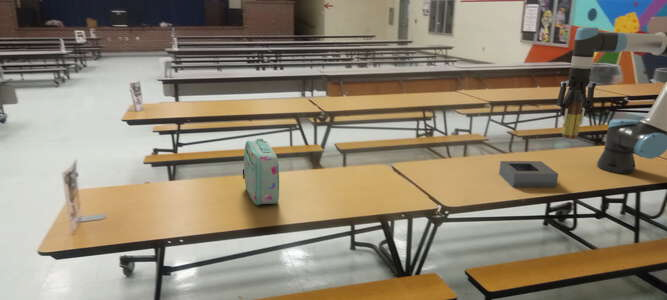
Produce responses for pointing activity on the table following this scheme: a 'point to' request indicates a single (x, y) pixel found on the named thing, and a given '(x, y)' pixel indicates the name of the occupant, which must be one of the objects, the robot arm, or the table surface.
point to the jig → (528, 174)
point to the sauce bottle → (573, 117)
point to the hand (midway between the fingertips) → (571, 123)
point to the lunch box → (261, 172)
